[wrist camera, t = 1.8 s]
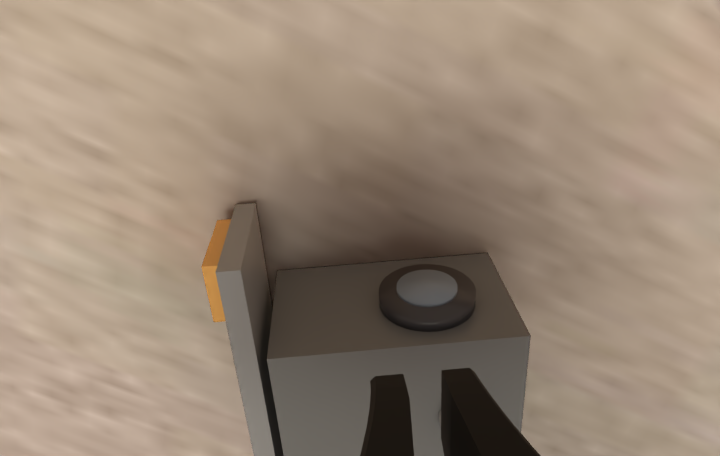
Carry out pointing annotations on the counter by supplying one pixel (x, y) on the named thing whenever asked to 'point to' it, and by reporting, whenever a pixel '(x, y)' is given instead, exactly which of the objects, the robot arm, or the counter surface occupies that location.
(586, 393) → the counter surface
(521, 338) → the camera body
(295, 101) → the counter surface
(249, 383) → the side door
